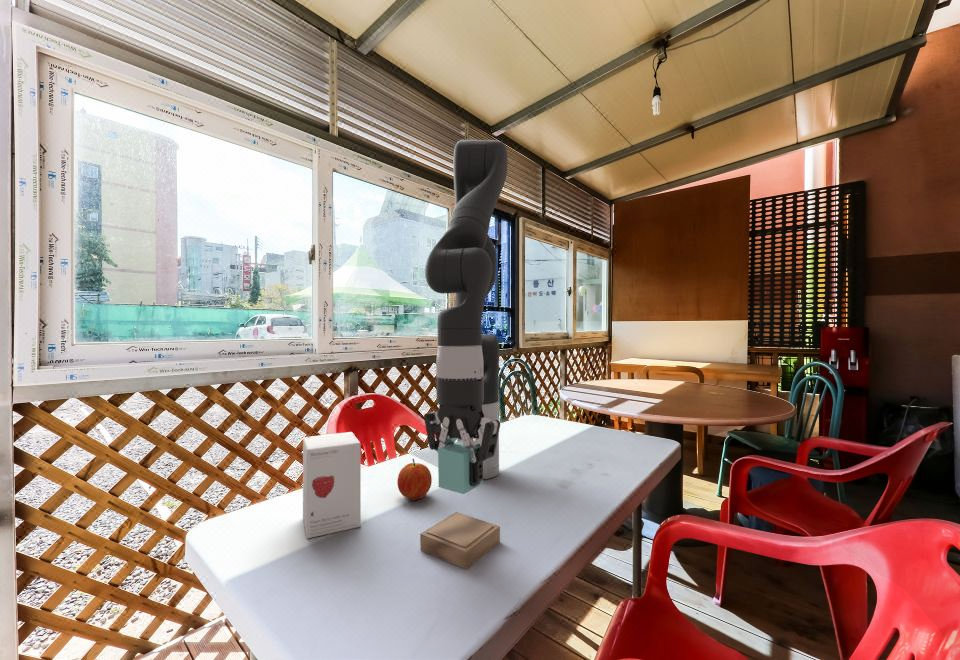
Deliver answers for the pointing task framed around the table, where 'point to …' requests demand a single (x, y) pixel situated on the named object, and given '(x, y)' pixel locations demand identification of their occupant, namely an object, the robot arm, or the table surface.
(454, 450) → the teal block
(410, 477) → the fruit
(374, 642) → the table surface
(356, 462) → the supplement box
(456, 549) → the walnut base
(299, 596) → the table surface
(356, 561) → the table surface
